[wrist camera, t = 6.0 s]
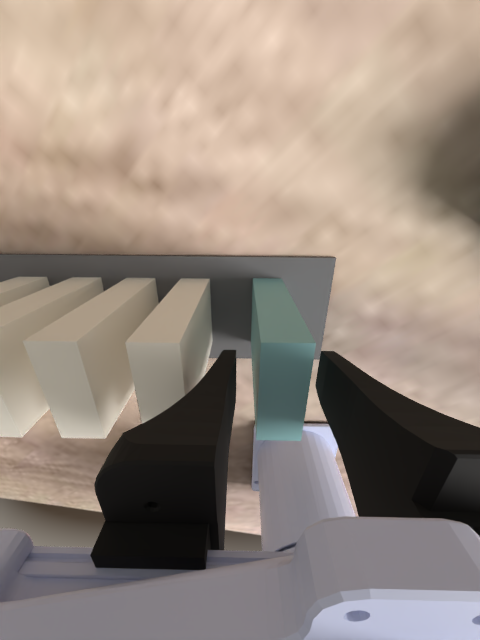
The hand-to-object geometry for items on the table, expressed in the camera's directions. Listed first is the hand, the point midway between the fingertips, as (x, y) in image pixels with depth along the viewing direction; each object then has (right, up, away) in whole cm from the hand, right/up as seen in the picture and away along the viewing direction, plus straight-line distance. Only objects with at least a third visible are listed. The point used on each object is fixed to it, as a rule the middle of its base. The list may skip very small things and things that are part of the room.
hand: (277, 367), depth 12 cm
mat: (-7, +3, +6) cm, 10 cm away
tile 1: (0, +3, +6) cm, 7 cm away
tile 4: (-13, +3, +6) cm, 14 cm away
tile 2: (-5, +3, +6) cm, 8 cm away
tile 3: (-9, +3, +6) cm, 11 cm away
